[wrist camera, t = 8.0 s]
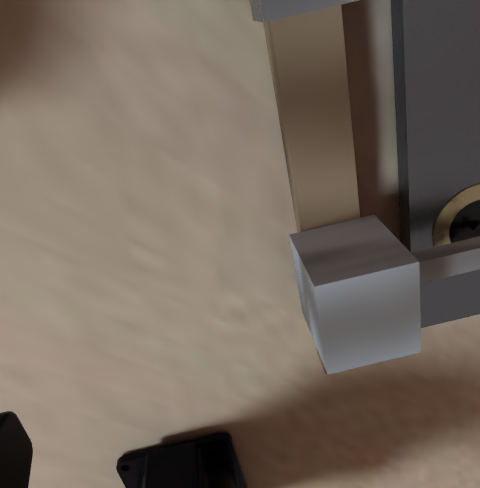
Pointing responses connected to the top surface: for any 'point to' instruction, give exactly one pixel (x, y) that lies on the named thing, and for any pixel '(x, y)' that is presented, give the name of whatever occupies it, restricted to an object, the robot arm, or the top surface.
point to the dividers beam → (344, 209)
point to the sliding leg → (288, 8)
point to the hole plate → (438, 140)
